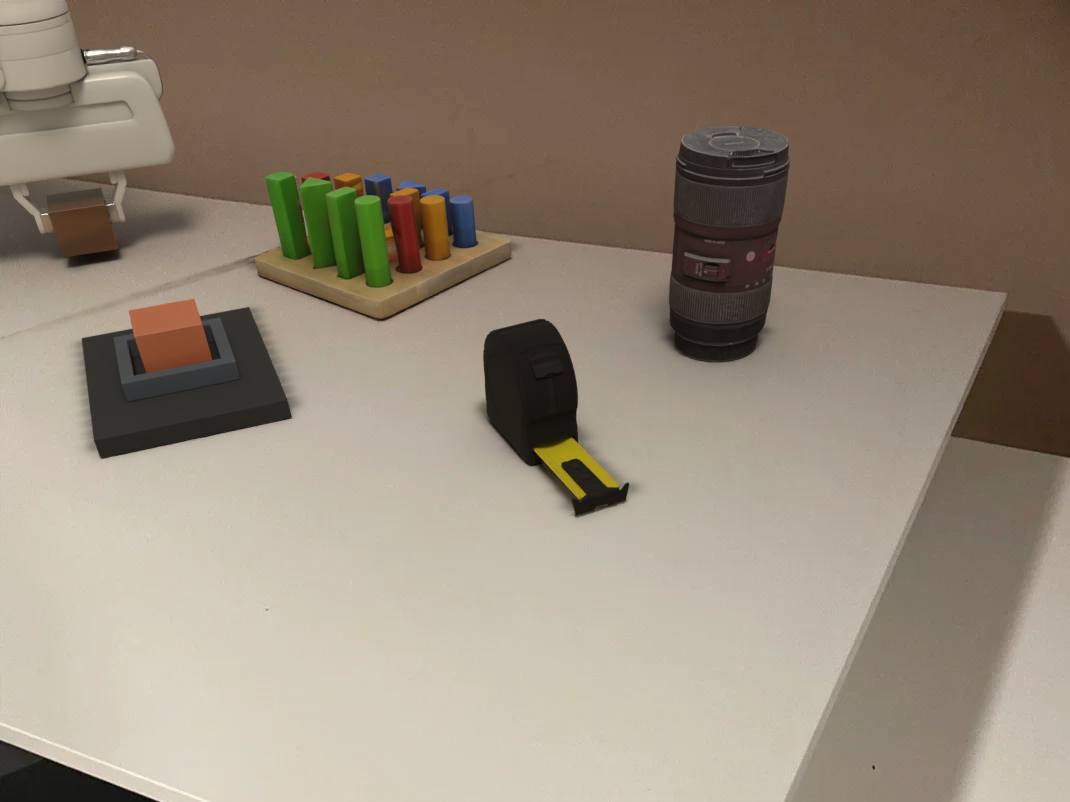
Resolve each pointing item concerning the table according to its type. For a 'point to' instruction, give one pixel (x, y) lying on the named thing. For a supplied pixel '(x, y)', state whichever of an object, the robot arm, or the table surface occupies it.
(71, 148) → the robot arm
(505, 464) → the table surface
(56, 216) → the brown block
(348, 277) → the peg board
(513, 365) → the tape measure
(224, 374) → the black socket base
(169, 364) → the orange block
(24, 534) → the table surface
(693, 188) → the camera lens
